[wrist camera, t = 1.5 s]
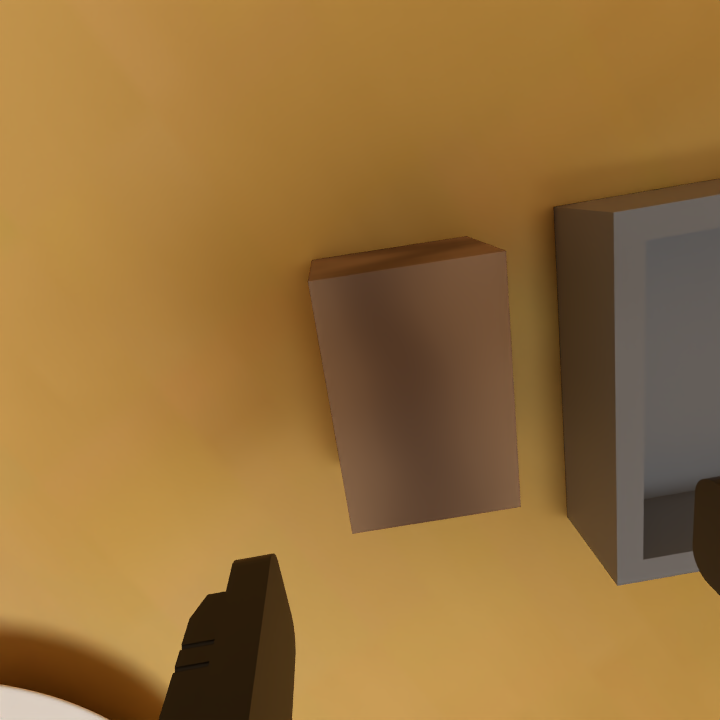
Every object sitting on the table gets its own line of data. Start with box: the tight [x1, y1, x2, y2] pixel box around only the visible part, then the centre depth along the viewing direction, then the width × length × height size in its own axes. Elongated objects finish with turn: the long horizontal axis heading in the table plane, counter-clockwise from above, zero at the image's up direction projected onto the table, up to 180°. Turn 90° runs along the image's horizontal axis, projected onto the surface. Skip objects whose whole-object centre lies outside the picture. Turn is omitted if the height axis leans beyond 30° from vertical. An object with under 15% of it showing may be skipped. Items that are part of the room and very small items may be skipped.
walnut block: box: [308, 236, 521, 534], centre depth 20 cm, size 6×9×5 cm, turn 8°
